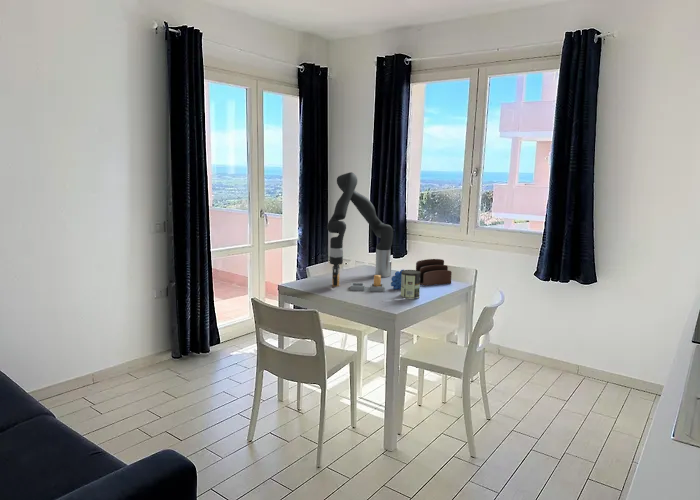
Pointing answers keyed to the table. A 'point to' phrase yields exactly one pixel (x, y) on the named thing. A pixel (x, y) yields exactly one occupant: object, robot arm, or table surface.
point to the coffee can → (410, 284)
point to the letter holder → (433, 272)
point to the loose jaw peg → (337, 280)
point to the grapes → (396, 280)
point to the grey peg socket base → (362, 287)
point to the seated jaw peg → (377, 280)
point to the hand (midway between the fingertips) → (335, 284)
